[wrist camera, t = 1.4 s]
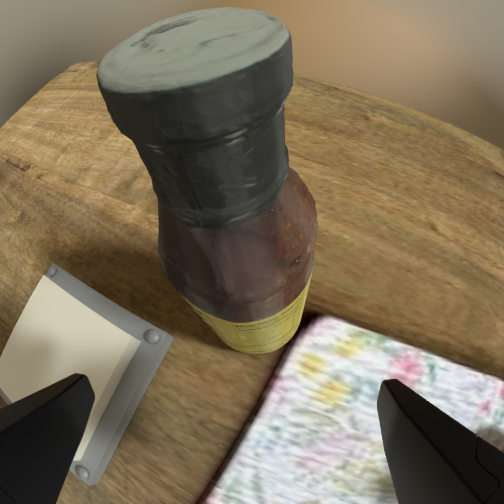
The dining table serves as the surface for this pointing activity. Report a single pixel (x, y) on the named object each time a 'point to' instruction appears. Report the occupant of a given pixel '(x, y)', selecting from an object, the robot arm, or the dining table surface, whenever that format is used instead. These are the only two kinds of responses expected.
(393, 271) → the dining table surface
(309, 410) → the dining table surface
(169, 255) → the sauce bottle
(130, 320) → the tower base
